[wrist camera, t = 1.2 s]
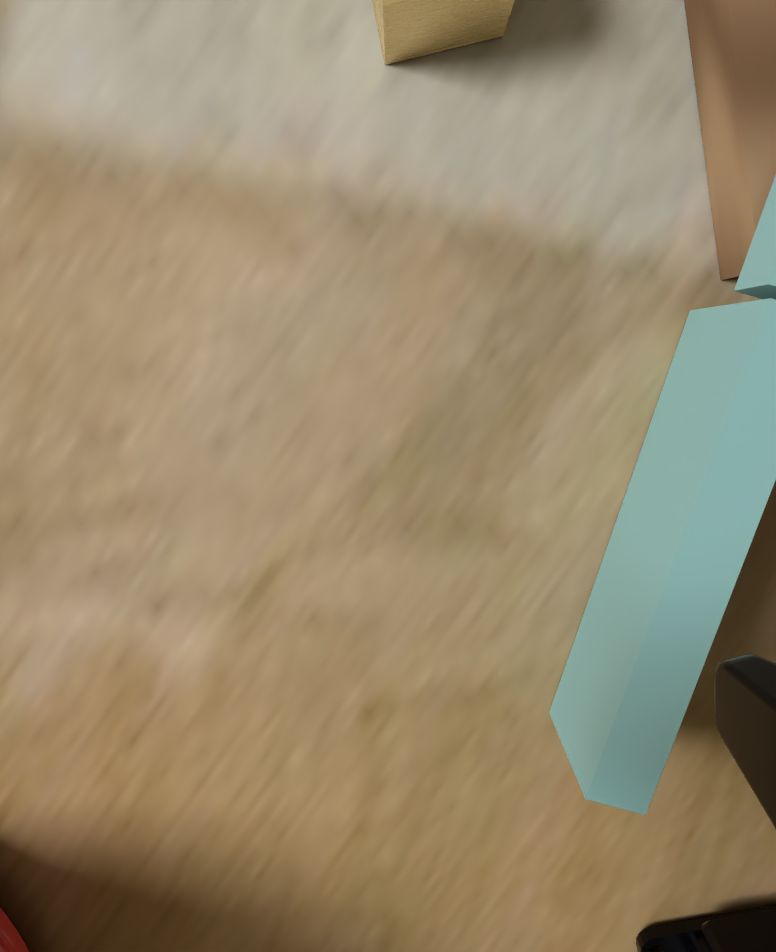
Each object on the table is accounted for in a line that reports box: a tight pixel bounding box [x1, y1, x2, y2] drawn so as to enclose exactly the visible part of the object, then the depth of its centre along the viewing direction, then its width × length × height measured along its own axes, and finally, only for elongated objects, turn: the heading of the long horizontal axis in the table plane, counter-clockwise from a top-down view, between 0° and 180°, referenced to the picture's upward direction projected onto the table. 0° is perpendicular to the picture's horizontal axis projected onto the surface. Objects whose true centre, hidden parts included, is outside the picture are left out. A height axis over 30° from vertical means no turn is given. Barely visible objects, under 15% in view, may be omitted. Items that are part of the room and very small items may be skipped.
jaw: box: [549, 175, 776, 815], centre depth 17 cm, size 15×2×4 cm, turn 164°
